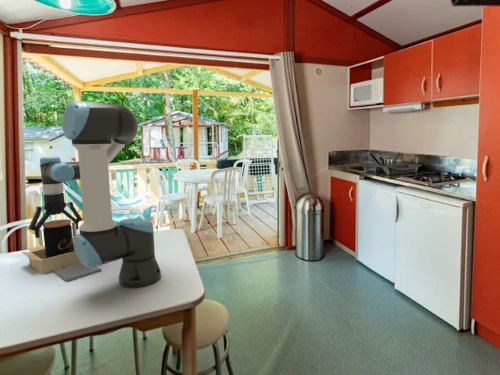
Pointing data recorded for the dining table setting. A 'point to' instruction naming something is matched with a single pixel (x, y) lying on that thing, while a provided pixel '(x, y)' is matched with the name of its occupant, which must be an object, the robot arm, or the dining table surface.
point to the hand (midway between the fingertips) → (58, 240)
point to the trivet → (76, 272)
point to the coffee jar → (58, 237)
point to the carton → (50, 259)
